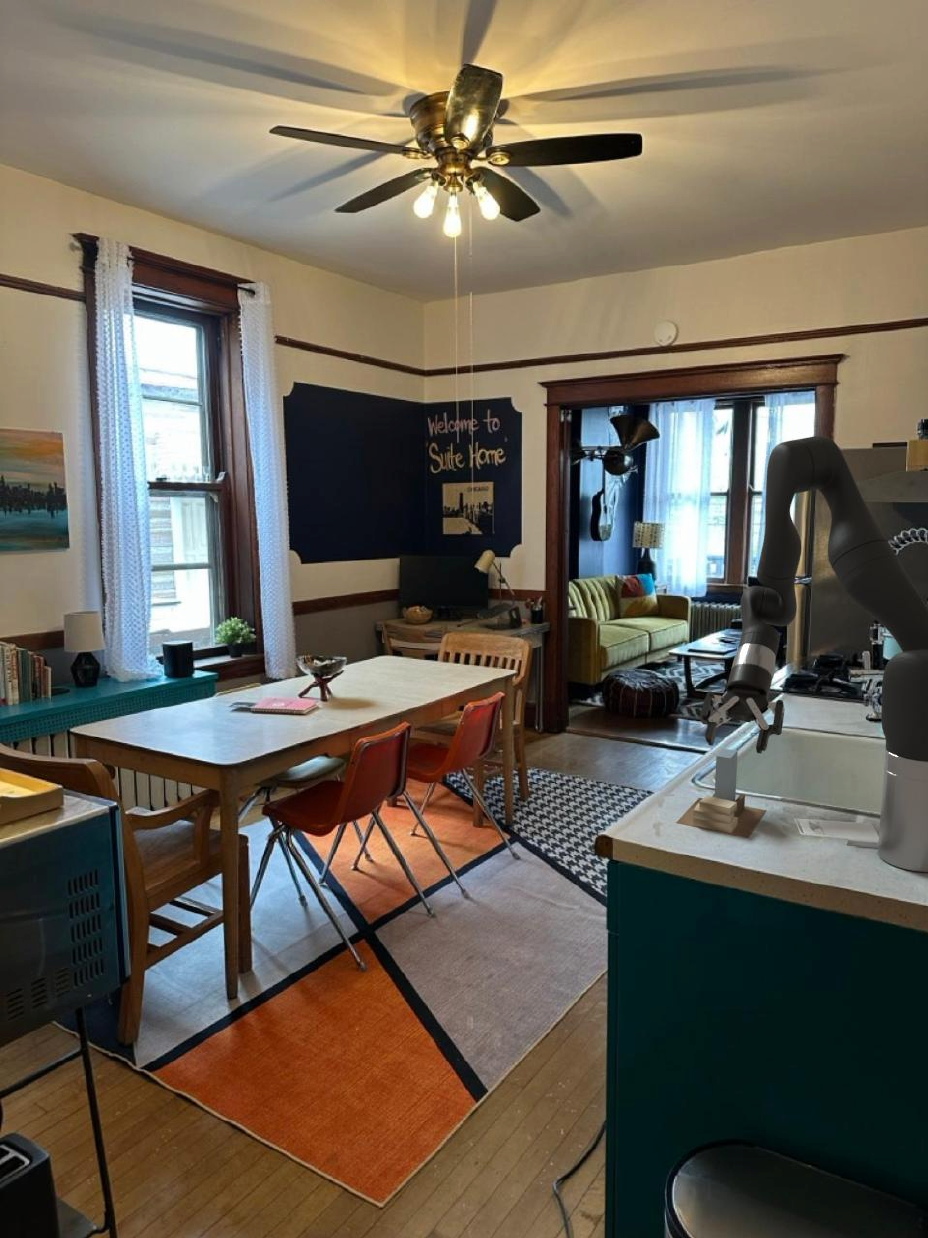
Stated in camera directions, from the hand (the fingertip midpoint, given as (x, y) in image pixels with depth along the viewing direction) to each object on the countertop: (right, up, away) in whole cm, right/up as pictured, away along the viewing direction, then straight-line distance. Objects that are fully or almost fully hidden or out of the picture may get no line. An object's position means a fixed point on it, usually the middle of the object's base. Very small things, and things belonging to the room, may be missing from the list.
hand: (733, 747), depth 144 cm
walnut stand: (-3, -12, -4) cm, 13 cm away
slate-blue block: (-2, -11, -3) cm, 12 cm away
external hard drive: (+14, -14, -9) cm, 22 cm away
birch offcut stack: (-6, -12, -8) cm, 15 cm away
